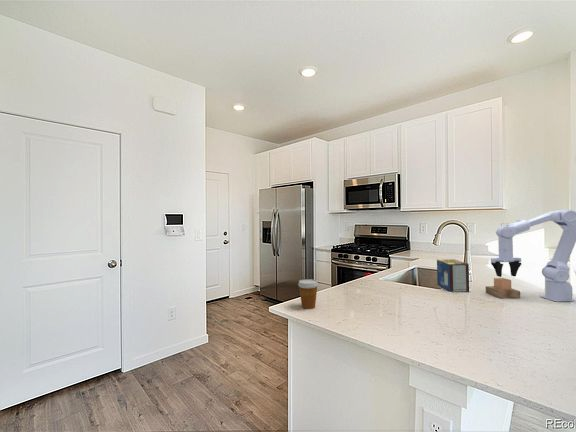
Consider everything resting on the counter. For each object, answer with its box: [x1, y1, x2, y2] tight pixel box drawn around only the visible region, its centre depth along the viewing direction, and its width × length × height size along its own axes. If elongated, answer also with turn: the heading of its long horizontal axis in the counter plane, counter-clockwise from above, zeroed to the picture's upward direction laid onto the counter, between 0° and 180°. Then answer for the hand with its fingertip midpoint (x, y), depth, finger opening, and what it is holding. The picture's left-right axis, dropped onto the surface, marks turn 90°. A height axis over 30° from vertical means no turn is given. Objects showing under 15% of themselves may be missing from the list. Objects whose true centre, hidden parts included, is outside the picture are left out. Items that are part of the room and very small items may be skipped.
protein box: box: [436, 259, 470, 293], centre depth 155 cm, size 10×15×16 cm
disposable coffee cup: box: [297, 278, 319, 310], centre depth 127 cm, size 10×10×12 cm
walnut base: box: [485, 285, 521, 300], centre depth 140 cm, size 10×10×4 cm
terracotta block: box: [493, 277, 512, 290], centre depth 140 cm, size 5×5×5 cm
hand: (506, 276), depth 138 cm, fingers open, 7 cm apart
